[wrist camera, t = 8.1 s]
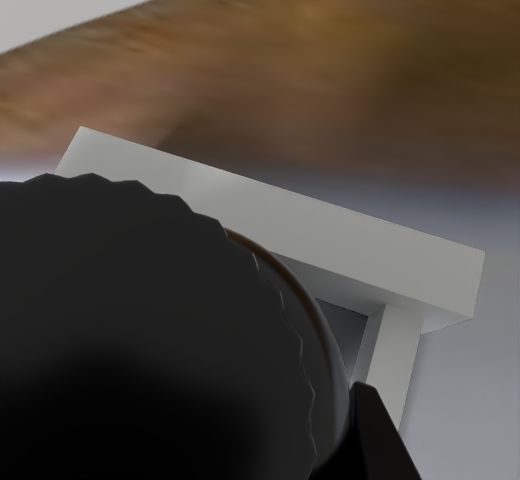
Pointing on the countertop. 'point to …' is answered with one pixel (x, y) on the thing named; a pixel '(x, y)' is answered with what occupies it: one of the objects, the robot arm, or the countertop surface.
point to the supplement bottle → (157, 344)
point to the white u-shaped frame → (317, 252)
